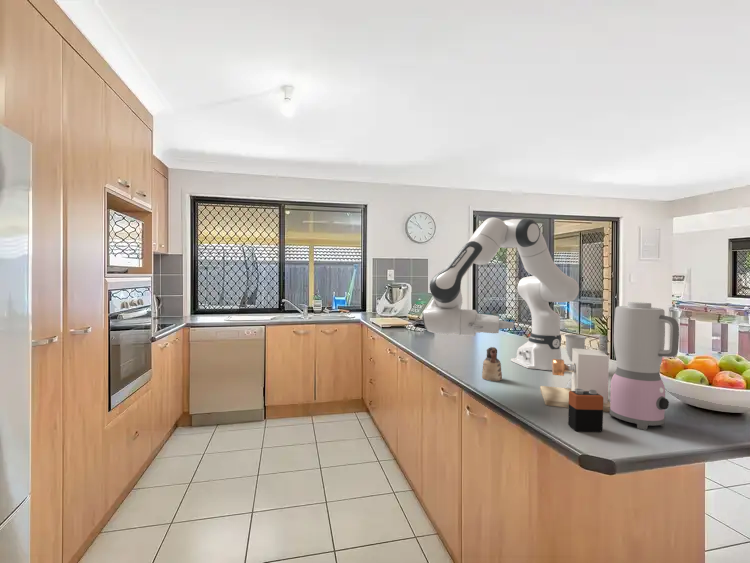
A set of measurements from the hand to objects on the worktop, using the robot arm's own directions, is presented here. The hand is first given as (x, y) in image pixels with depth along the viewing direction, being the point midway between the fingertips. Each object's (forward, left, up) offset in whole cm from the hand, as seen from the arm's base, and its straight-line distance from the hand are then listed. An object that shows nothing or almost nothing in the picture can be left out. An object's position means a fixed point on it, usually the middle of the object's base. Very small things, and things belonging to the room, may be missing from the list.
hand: (513, 325), depth 125 cm
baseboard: (+11, +14, -23) cm, 29 cm away
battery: (+29, -2, -23) cm, 37 cm away
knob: (+10, +13, -15) cm, 22 cm away
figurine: (-18, +5, -23) cm, 30 cm away
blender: (+31, +16, -23) cm, 42 cm away
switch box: (+14, +18, -21) cm, 31 cm away
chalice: (0, +26, -23) cm, 35 cm away
